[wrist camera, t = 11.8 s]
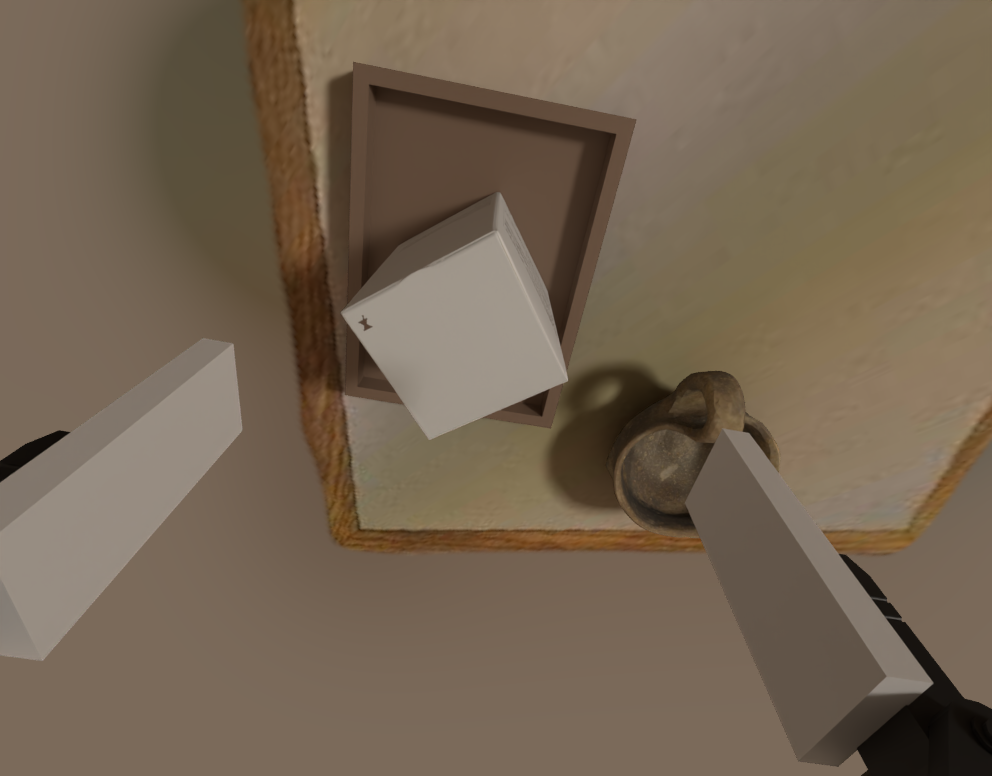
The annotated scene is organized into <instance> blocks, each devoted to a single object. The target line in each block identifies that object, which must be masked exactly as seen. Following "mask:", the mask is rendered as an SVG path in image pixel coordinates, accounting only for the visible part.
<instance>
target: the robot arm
mask: <svg viewBox="0 0 992 776" xmlns="http://www.w3.org/2000/svg"><path fill="white" fill-rule="evenodd" d="M241 431H242V421H241V412H240V403H239V393H238V383H237V373H236V363H235V354H234V344H233V343H228V342H222V341H216V340H211V339H205V338H202V339H201V340H200V341H198V342H197V343H195V344H194V345H193V346H191V347H190V348H188V349H187V350H186V351H184V352H183V353H181V354H180V355H179V356H177V357H176V358H174V359H173V360H172V361H170V362H169V363H167V364H166V365H165V366H163V367H162V368H160V369H159V370H158V371H156V372H155V373H153V374H152V375H150V376H149V377H148V378H146V379H145V380H143V381H142V382H141V383H139V384H138V385H137V386H135V387H134V388H132V389H131V390H130V391H128V392H127V393H125V394H124V395H123V396H121V397H120V398H118V399H117V400H116V401H114V402H113V403H111V404H110V405H108V406H107V407H106V408H104V409H103V410H101V411H100V412H99V413H97V414H96V415H94V416H93V417H92V418H90V419H89V420H87V421H86V422H85V423H83V424H82V425H80V426H79V427H77V428H76V429H75V430H73V431H72V432H66V431H56V432H54V433H52V434H49V435H47V436H44V437H42V438H39V439H37V440H34V441H32V442H29V443H27V444H25V445H24V446H22V447H20V448H19V449H17V450H16V451H15V452H13V453H11V454H10V455H8V456H7V457H5V458H4V459H3V460H1V461H0V655H2V656H10V657H17V658H25V659H32V660H40V661H43V660H44V658H45V657H46V656H47V655H48V654H49V653H50V652H51V650H52V649H53V648H54V647H55V646H56V645H57V643H58V642H59V641H60V640H61V639H62V638H63V637H64V635H65V634H66V633H67V632H68V631H69V630H70V629H71V627H72V626H73V625H74V624H75V623H76V621H77V620H78V619H79V618H80V617H81V616H82V615H83V614H84V612H85V611H86V610H87V609H88V608H89V607H90V605H91V604H92V603H93V602H94V600H96V598H97V597H98V596H99V595H100V594H101V593H102V591H103V590H104V589H105V588H106V587H107V586H108V585H109V584H110V582H111V581H112V580H113V579H114V578H115V577H116V575H117V574H118V573H119V572H120V571H121V570H122V569H123V567H124V566H125V565H126V564H127V563H128V562H129V560H130V559H131V558H132V557H133V556H134V555H135V554H136V552H137V551H138V550H139V549H140V548H141V547H142V545H143V544H144V543H145V542H146V541H147V540H148V539H149V537H150V536H151V535H152V534H153V533H154V531H155V530H156V529H157V528H158V527H159V526H160V525H161V524H162V522H163V521H164V520H165V519H166V518H167V517H168V516H169V514H170V513H171V512H172V511H173V510H174V508H175V507H176V506H177V505H178V504H179V503H180V502H181V501H182V499H183V498H184V497H185V496H186V494H188V492H189V491H190V490H191V489H192V488H193V487H194V485H195V484H196V483H197V482H198V481H199V480H200V478H201V477H202V476H203V475H204V474H205V473H206V472H207V470H208V469H209V468H210V467H211V466H212V465H213V464H214V462H215V461H216V460H217V459H218V458H219V457H220V456H221V454H222V453H223V452H224V451H225V450H226V449H227V447H228V446H229V445H230V444H231V443H232V442H233V440H234V439H235V438H236V437H237V436H238V435H239V434H240V432H241ZM685 504H686V507H687V509H688V511H689V513H690V516H691V518H692V520H693V523H694V525H695V527H696V529H697V532H698V534H699V536H700V538H701V541H702V543H703V545H704V548H705V550H706V552H707V554H708V557H709V559H710V561H711V563H712V566H713V568H714V570H715V573H716V575H717V577H718V580H719V581H720V584H721V586H722V588H723V591H724V593H725V595H726V598H727V600H728V602H729V605H730V607H731V609H732V611H733V614H734V616H735V618H736V621H737V623H738V625H739V627H740V630H741V632H742V634H743V636H744V639H745V641H746V643H747V645H748V648H749V650H750V652H751V655H752V657H753V659H754V661H755V664H756V666H757V669H758V670H759V673H760V675H761V678H762V680H763V682H764V684H765V687H766V689H767V691H768V694H769V696H770V698H771V700H772V703H773V705H774V707H775V710H776V712H777V714H778V716H779V719H780V721H781V723H782V726H783V728H784V730H785V732H786V735H787V737H788V739H789V741H790V744H791V746H792V748H793V751H794V753H795V755H796V758H797V760H798V761H800V762H807V763H815V764H822V765H830V766H837V767H838V766H839V765H840V764H842V763H843V762H844V761H845V760H846V759H847V758H849V757H850V756H851V755H852V754H853V753H854V752H855V751H857V750H858V752H859V754H860V755H861V757H862V759H863V761H864V763H865V765H866V766H867V768H868V770H867V771H866V772H865V773H864V774H862V775H861V776H992V709H991V708H989V707H987V706H985V705H983V704H981V703H979V702H975V701H972V700H967V699H964V697H963V696H962V695H961V694H960V693H959V691H958V690H957V689H956V687H955V686H954V685H953V683H952V682H951V681H950V680H949V678H948V677H947V676H946V674H945V673H944V672H943V671H942V670H941V668H940V667H939V665H938V664H937V663H936V661H935V660H934V659H933V658H932V656H931V655H930V654H929V652H928V651H927V650H926V649H925V647H924V646H923V645H922V643H921V642H920V641H919V640H918V638H917V637H916V636H915V634H914V633H913V632H912V630H911V629H910V628H909V626H908V625H907V624H906V623H905V622H902V621H901V618H902V617H901V616H900V615H899V613H898V612H897V611H896V610H895V608H894V607H893V606H892V604H891V603H887V598H886V596H885V595H884V594H883V593H882V591H881V590H880V589H879V587H878V586H877V585H876V583H875V582H874V581H873V580H872V579H871V577H870V576H869V575H868V574H867V573H866V572H865V571H863V570H862V569H861V568H860V567H859V566H858V565H857V564H856V563H854V562H853V561H852V560H851V559H850V558H849V557H848V556H846V555H843V554H838V553H837V551H836V550H835V549H834V547H833V546H832V545H831V543H830V542H829V541H828V539H827V538H826V537H825V535H824V534H823V532H822V531H821V530H820V528H819V527H818V526H817V524H816V523H815V522H814V520H813V519H812V518H811V516H810V515H809V514H808V512H807V511H806V509H805V508H804V507H803V505H802V504H801V503H800V501H799V500H798V499H797V497H796V496H795V495H794V493H793V492H792V490H791V489H790V488H789V486H788V485H787V484H786V482H785V481H784V480H783V478H782V477H781V476H780V474H779V473H778V471H777V470H776V469H775V467H774V466H773V465H772V463H771V462H770V461H769V459H768V458H767V457H766V455H765V454H764V452H763V451H762V450H761V448H760V447H759V446H758V444H757V443H756V442H755V440H754V439H753V438H752V436H751V435H750V433H746V432H740V431H735V430H729V429H723V428H722V430H721V432H720V434H719V436H718V438H717V440H716V442H715V444H714V446H713V448H712V450H711V452H710V454H709V456H708V458H707V460H706V462H705V464H704V466H703V468H702V470H701V472H700V474H699V476H698V478H697V479H696V481H695V483H694V485H693V487H692V489H691V491H690V493H689V495H688V497H687V499H686V501H685Z"/></svg>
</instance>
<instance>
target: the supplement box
mask: <svg viewBox="0 0 992 776" xmlns="http://www.w3.org/2000/svg"><path fill="white" fill-rule="evenodd" d="M341 315H342V317H343V318H344V319H345V321H346V322H347V324H348V325H349V326H350V328H351V329H352V331H353V332H354V334H355V335H356V336H357V338H358V339H359V341H360V342H361V343H362V345H363V346H364V348H365V349H366V350H367V352H368V353H369V355H370V356H371V357H372V359H373V360H374V362H375V363H376V364H377V366H378V367H379V369H380V370H381V371H382V373H383V374H384V376H385V377H386V379H387V380H388V381H389V383H390V384H391V386H392V387H393V388H394V390H395V391H396V393H397V394H398V396H399V397H400V399H401V400H402V402H403V403H404V405H405V406H406V408H407V409H408V411H409V412H410V414H411V415H412V417H413V418H414V420H415V421H416V422H417V424H418V425H419V427H420V428H421V429H422V431H423V432H424V434H425V435H426V436H427V438H428V439H429V440H430V439H433V438H435V437H437V436H440V435H442V434H444V433H447V432H449V431H451V430H454V429H456V428H458V427H461V426H463V425H466V424H468V423H470V422H473V421H475V420H477V419H480V418H482V417H485V416H487V415H489V414H492V413H494V412H496V411H499V410H501V409H503V408H506V407H508V406H511V405H513V404H515V403H518V402H520V401H522V400H525V399H527V398H529V397H532V396H534V395H536V394H538V393H541V392H543V391H545V390H548V389H550V388H553V387H555V386H557V385H560V384H562V383H565V382H567V381H568V377H567V372H566V367H565V362H564V358H563V354H562V350H561V346H560V342H559V338H558V334H557V330H556V326H555V321H554V317H553V313H552V309H551V304H550V300H549V295H548V291H547V289H546V287H545V284H544V282H543V280H542V278H541V276H540V274H539V272H538V270H537V268H536V266H535V263H534V261H533V259H532V257H531V255H530V253H529V251H528V249H527V247H526V245H525V243H524V240H523V238H522V236H521V234H520V232H519V230H518V228H517V226H516V224H515V222H514V219H513V217H512V215H511V213H510V211H509V209H508V207H507V205H506V203H505V201H504V199H503V197H502V195H501V193H500V192H496V193H494V194H492V195H490V196H488V197H486V198H484V199H482V200H481V201H479V202H477V203H475V204H473V205H471V206H470V207H468V208H466V209H464V210H462V211H460V212H458V213H457V214H455V215H453V216H451V217H449V218H447V219H446V220H444V221H442V222H440V223H438V224H436V225H434V226H433V227H431V228H429V229H427V230H425V231H423V232H422V233H420V234H418V235H416V236H414V237H413V238H411V239H409V240H407V241H405V242H403V243H402V244H400V245H399V246H398V247H397V248H396V249H395V250H394V251H393V252H392V254H391V255H390V256H389V257H388V258H387V259H386V260H385V261H384V263H383V264H382V265H381V266H380V267H379V268H378V270H377V271H376V272H375V273H374V274H373V275H372V276H371V278H370V279H369V280H368V281H367V282H366V283H365V285H364V286H363V287H362V288H361V289H360V290H359V291H358V293H357V294H356V295H355V296H354V297H353V298H352V300H351V301H350V302H349V303H348V304H347V305H346V307H345V308H344V309H343V310H342V311H341Z"/></svg>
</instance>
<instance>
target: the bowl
mask: <svg viewBox="0 0 992 776" xmlns="http://www.w3.org/2000/svg"><path fill="white" fill-rule="evenodd" d="M722 428H723V429H729V430H735V431H740V432H746V433H750V435H751V436H752V438H753V439H754V440H755V442H756V443H757V444H758V446H759V447H760V448H761V450H762V451H763V452H764V454H765V455H766V457H767V458H768V459H769V461H770V462H771V463H772V465H773V466H774V467H775V469H776V470H777V471H778V473H779V468H780V451H779V448H778V445H777V443H776V442H775V440H774V439H773V437H772V435H771V434H770V432H769V431H768V429H767V428H766V427H765V426H764V425H763V424H762V423H761V422H760V421H758V420H756V419H755V418H753V417H751V416H749V414H747V413H746V412H745V402H744V396H743V393H742V390H741V387H740V385H739V383H738V382H737V380H736V379H735V378H734V377H733V376H732V375H730V374H729V373H726V372H722V371H708V372H698V373H693V374H690V375H689V376H688V377H686V378H685V379H684V380H683V381H682V382H680V383H679V385H678V386H677V388H676V390H675V391H674V392H673V393H672V394H671V395H669V396H667V397H666V398H664V399H662V400H660V401H658V402H656V403H655V404H653V405H651V406H649V407H648V408H646V409H645V410H644V411H642V412H641V413H639V414H638V415H636V416H635V417H634V418H632V419H631V420H630V421H629V422H628V423H627V424H626V425H625V427H624V428H623V429H622V431H621V433H620V434H619V436H618V437H617V439H616V441H615V443H614V445H613V447H612V449H611V452H610V454H609V456H608V459H607V462H606V468H607V470H608V471H609V473H610V475H611V477H612V479H613V485H614V492H615V495H616V498H617V501H618V502H619V504H620V506H621V507H622V509H623V510H624V512H625V513H626V514H627V515H628V516H629V517H630V518H631V519H632V520H633V521H634V522H635V523H636V524H637V525H639V526H640V527H642V528H644V529H645V530H648V531H650V532H654V533H657V534H660V535H666V536H672V537H690V538H700V536H699V534H698V532H697V529H696V527H695V525H694V523H693V520H692V518H691V516H690V513H689V511H688V509H687V507H686V504H685V501H686V499H687V497H688V495H689V493H690V491H691V489H692V487H693V485H694V483H695V481H696V479H697V478H698V476H699V474H700V472H701V470H702V468H703V466H704V464H705V462H706V460H707V458H708V456H709V454H710V452H711V450H712V448H713V446H714V444H715V442H716V440H717V438H718V436H719V434H720V432H721V430H722Z"/></svg>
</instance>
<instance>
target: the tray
mask: <svg viewBox="0 0 992 776" xmlns="http://www.w3.org/2000/svg"><path fill="white" fill-rule="evenodd" d="M635 123H636V119H631V118H626V117H621V116H616V115H612V114H607V113H602V112H597V111H592V110H587V109H582V108H577V107H572V106H567V105H562V104H558V103H553V102H548V101H543V100H538V99H533V98H528V97H523V96H518V95H513V94H508V93H504V92H499V91H494V90H489V89H484V88H479V87H474V86H469V85H464V84H459V83H454V82H450V81H445V80H440V79H435V78H430V77H425V76H420V75H415V74H410V73H405V72H400V71H396V70H391V69H386V68H381V67H376V66H371V65H366V64H361V63H356V62H353V94H352V136H351V177H350V219H349V260H348V302H347V304H348V303H349V302H350V301H351V300H352V298H353V297H354V296H355V295H356V294H357V293H358V291H359V290H360V289H361V288H362V287H363V286H364V285H365V283H366V282H367V281H368V280H369V279H370V278H371V276H372V275H373V274H374V273H375V272H376V271H377V270H378V268H379V267H380V266H381V265H382V264H383V263H384V261H385V260H386V259H387V258H388V257H389V256H390V255H391V254H392V252H393V251H394V250H395V249H396V248H397V247H398V246H399V245H400V244H402V243H403V242H405V241H407V240H409V239H411V238H413V237H414V236H416V235H418V234H420V233H422V232H423V231H425V230H427V229H429V228H431V227H433V226H434V225H436V224H438V223H440V222H442V221H444V220H446V219H447V218H449V217H451V216H453V215H455V214H457V213H458V212H460V211H462V210H464V209H466V208H468V207H470V206H471V205H473V204H475V203H477V202H479V201H481V200H482V199H484V198H486V197H488V196H490V195H492V194H494V193H496V192H500V193H501V195H502V197H503V199H504V201H505V203H506V205H507V207H508V209H509V211H510V213H511V215H512V217H513V219H514V222H515V224H516V226H517V228H518V230H519V232H520V234H521V236H522V238H523V240H524V243H525V245H526V247H527V249H528V251H529V253H530V255H531V257H532V259H533V261H534V263H535V266H536V268H537V270H538V272H539V274H540V276H541V278H542V280H543V282H544V284H545V287H546V289H547V291H548V295H549V300H550V304H551V309H552V313H553V317H554V321H555V326H556V330H557V334H558V338H559V342H560V346H561V350H562V354H563V358H564V362H565V367H566V372H567V369H568V365H569V361H570V358H571V354H572V351H573V347H574V343H575V340H576V336H577V333H578V329H579V325H580V322H581V318H582V314H583V311H584V307H585V304H586V300H587V296H588V293H589V289H590V286H591V282H592V278H593V275H594V271H595V268H596V264H597V260H598V257H599V253H600V250H601V246H602V242H603V239H604V235H605V232H606V228H607V224H608V221H609V217H610V213H611V210H612V206H613V203H614V199H615V195H616V192H617V188H618V185H619V181H620V177H621V174H622V170H623V167H624V163H625V159H626V156H627V152H628V149H629V145H630V141H631V138H632V134H633V130H634V127H635ZM562 387H563V383H562V384H560V385H557V386H555V387H553V388H550V389H548V390H545V391H543V392H541V393H538V394H536V395H534V396H532V397H529V398H527V399H525V400H522V401H520V402H518V403H515V404H513V405H511V406H508V407H506V408H503V409H501V410H499V411H496V412H494V413H492V414H489V415H487V416H485V417H484V418H490V419H496V420H502V421H508V422H515V423H521V424H527V425H533V426H539V427H545V428H551V426H552V423H553V419H554V416H555V412H556V408H557V405H558V401H559V397H560V394H561V390H562ZM345 395H349V396H355V397H361V398H367V399H373V400H379V401H386V402H392V403H398V404H404V403H403V402H402V400H401V399H400V397H399V396H398V394H397V393H396V391H395V390H394V388H393V387H392V386H391V384H390V383H389V381H388V380H387V379H386V377H385V376H384V374H383V373H382V371H381V370H380V369H379V367H378V366H377V364H376V363H375V362H374V360H373V359H372V357H371V356H370V355H369V353H368V352H367V350H366V349H365V348H364V346H363V345H362V343H361V342H360V341H359V339H358V338H357V336H356V335H355V334H354V332H353V331H352V329H351V328H350V326H349V325H348V324H347V343H346V385H345Z"/></svg>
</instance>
